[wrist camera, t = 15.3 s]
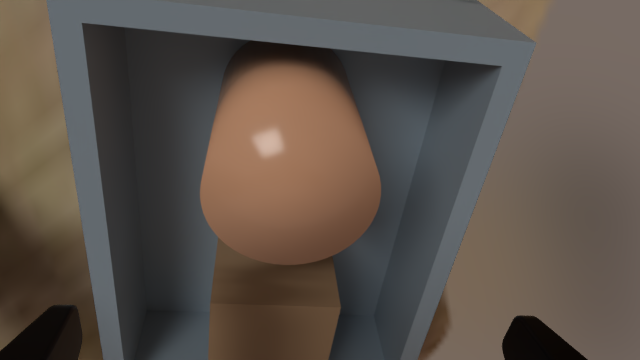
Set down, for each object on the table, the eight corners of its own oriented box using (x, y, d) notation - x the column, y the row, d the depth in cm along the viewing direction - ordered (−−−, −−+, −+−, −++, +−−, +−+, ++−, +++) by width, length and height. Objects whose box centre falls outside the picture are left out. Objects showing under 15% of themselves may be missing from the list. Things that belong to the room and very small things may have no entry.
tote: (382, 317, 28) (403, 397, 24) (134, 311, 26) (109, 398, 22) (476, 0, 19) (536, 42, 15) (98, -47, 17) (44, -12, 13)
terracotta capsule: (370, 112, 20) (409, 218, 15) (267, 168, 21) (266, 287, 16) (307, 4, 18) (325, 82, 12) (194, 74, 19) (160, 176, 13)
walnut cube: (327, 226, 24) (340, 307, 19) (313, 300, 26) (322, 385, 22) (220, 220, 23) (210, 303, 19) (216, 297, 25) (207, 384, 21)
